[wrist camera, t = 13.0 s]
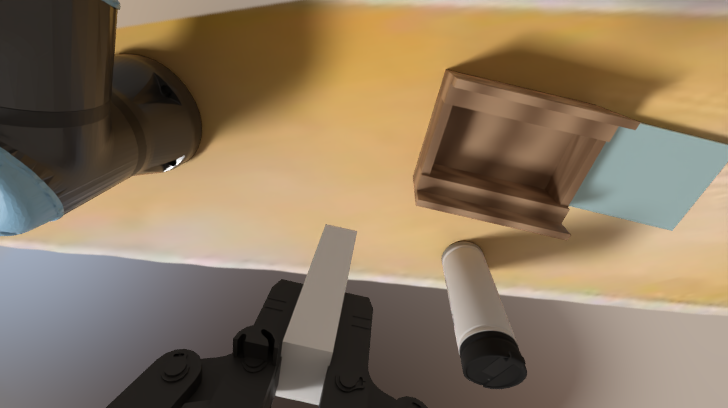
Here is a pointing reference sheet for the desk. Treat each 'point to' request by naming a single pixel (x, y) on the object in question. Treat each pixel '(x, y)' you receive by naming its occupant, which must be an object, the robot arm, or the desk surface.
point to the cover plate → (650, 175)
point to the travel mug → (480, 320)
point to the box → (509, 153)
